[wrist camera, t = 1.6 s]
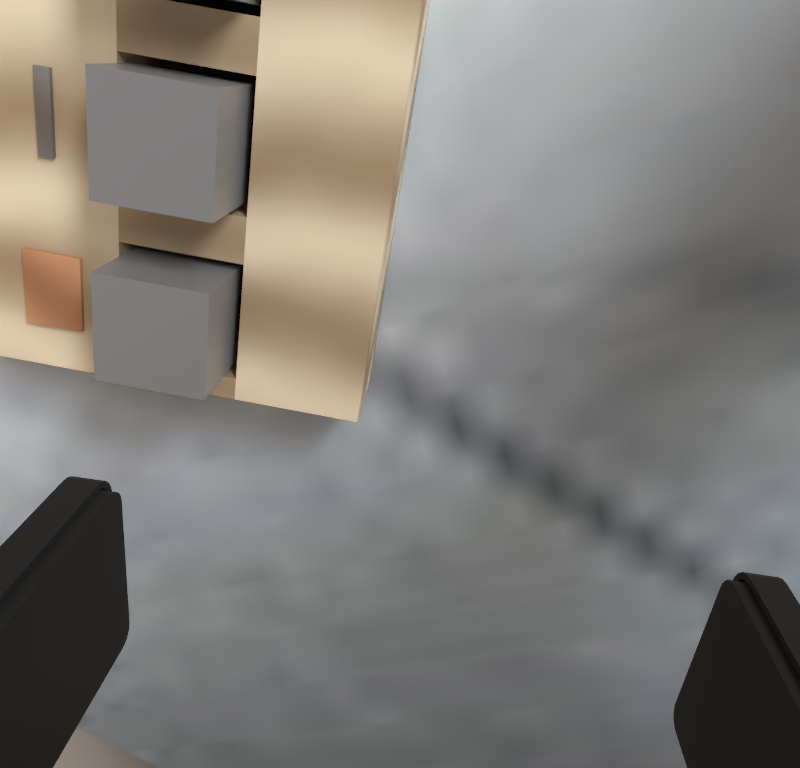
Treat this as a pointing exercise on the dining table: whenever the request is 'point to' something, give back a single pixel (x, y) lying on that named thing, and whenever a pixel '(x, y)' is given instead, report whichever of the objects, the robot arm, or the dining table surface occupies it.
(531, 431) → the dining table surface
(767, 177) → the dining table surface
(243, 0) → the button
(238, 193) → the button
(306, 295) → the switch unit
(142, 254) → the button
